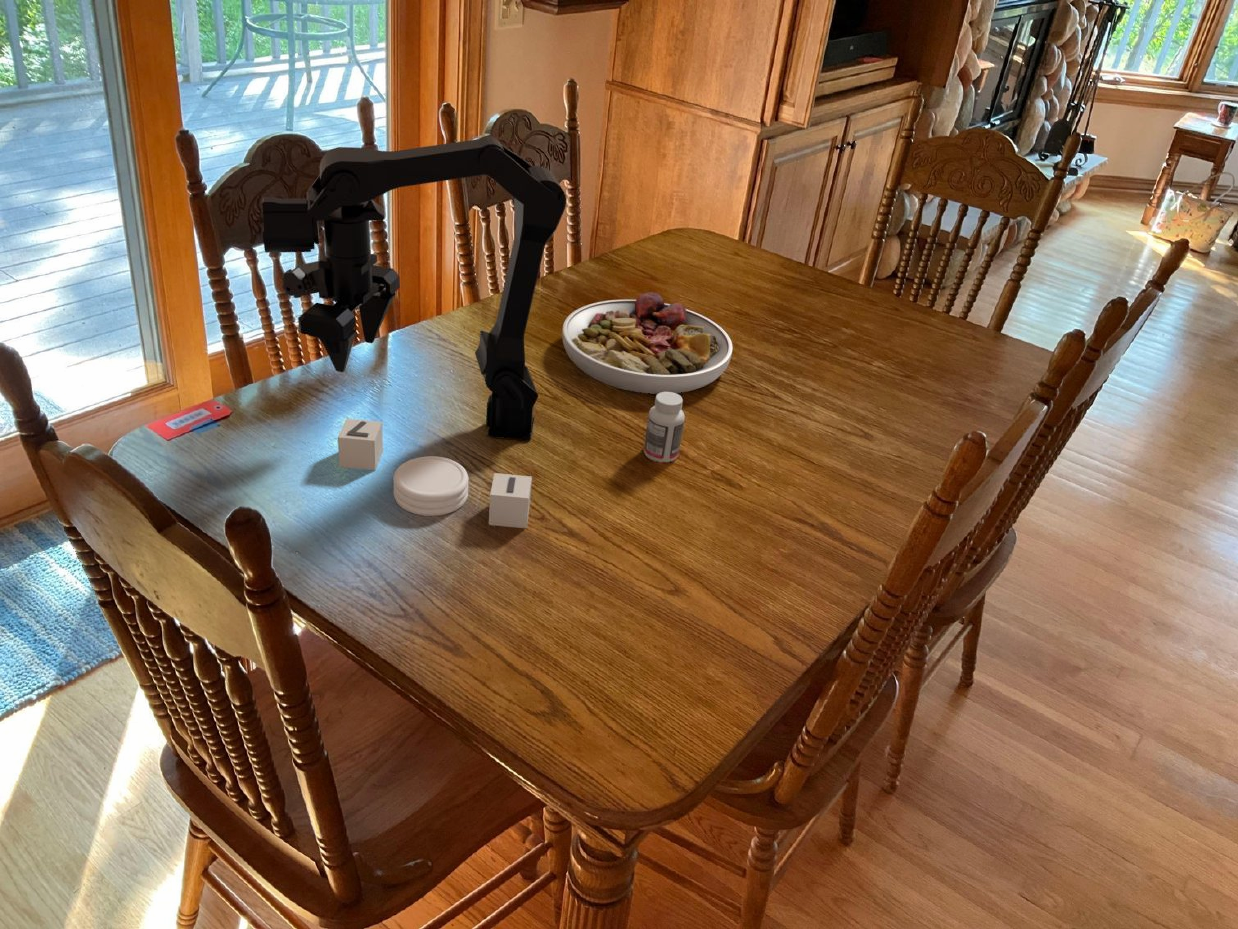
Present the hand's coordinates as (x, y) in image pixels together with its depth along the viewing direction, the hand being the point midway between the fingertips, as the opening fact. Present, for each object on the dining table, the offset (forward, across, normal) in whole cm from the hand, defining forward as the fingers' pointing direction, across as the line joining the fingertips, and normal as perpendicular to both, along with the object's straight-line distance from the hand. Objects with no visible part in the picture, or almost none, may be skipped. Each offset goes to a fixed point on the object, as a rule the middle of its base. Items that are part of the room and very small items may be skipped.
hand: (355, 356), depth 136 cm
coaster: (+14, +10, +15) cm, 23 cm away
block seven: (+13, +6, +3) cm, 14 cm away
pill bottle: (+14, -12, +43) cm, 47 cm away
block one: (+14, +11, +26) cm, 31 cm away
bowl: (+15, -42, +34) cm, 56 cm away
